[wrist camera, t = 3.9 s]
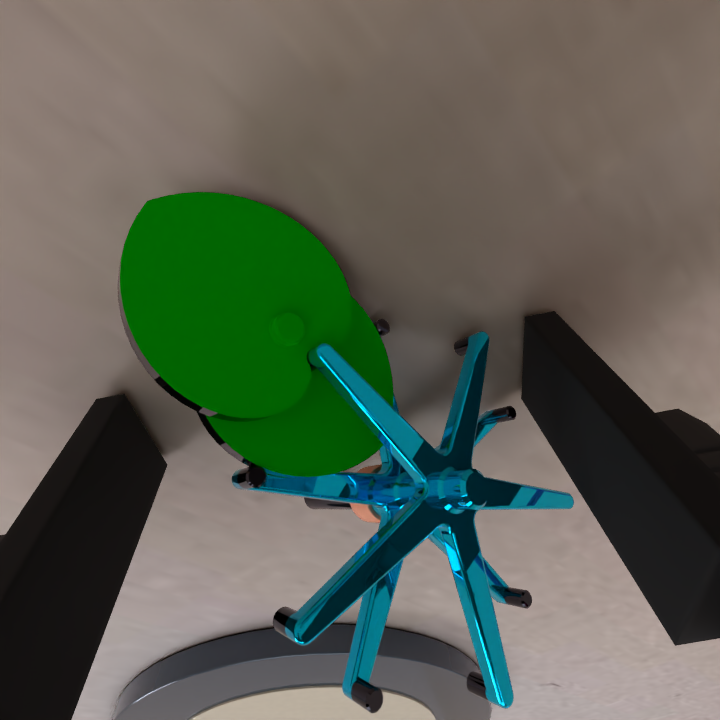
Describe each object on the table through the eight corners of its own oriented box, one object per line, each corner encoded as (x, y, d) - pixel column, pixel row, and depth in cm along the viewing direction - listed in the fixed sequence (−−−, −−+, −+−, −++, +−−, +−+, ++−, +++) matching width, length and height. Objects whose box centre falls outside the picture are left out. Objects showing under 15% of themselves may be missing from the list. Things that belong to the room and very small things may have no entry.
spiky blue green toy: (627, 471, 12) (542, 848, 7) (444, 482, 17) (333, 698, 13) (312, 84, 9) (-113, 294, 5) (219, 246, 15) (-15, 411, 10)
